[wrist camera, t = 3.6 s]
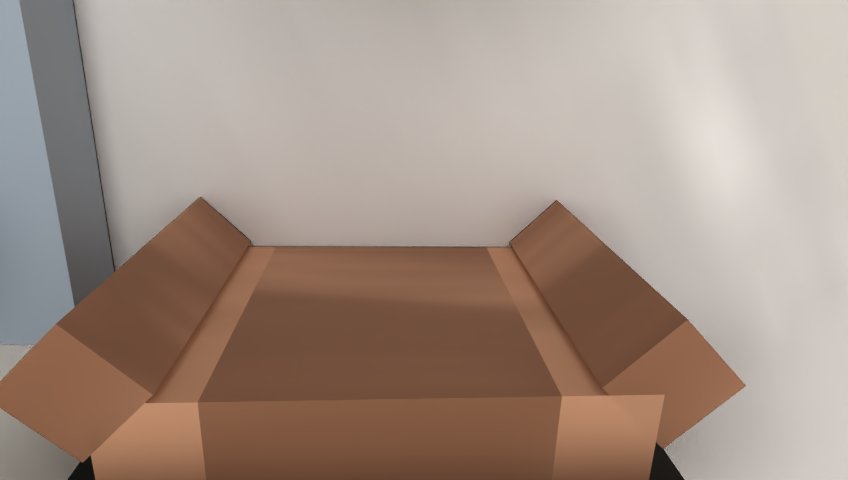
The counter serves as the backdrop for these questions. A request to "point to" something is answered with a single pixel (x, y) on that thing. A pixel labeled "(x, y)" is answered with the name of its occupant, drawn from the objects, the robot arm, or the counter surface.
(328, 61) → the counter surface
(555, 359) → the brown open boxy piece
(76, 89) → the gear board
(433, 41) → the counter surface
